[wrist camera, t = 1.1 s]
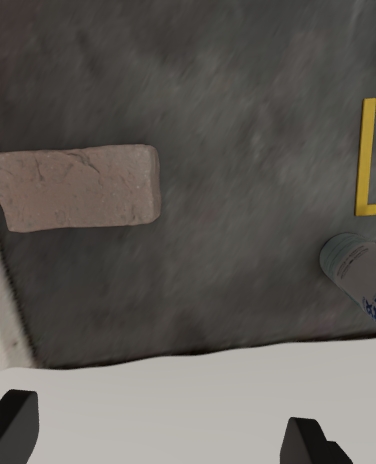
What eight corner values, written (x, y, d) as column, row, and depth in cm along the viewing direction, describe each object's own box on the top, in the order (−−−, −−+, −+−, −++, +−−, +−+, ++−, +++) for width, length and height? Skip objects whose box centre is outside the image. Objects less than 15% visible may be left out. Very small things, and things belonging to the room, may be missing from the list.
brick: (157, 143, 32) (150, 141, 27) (163, 216, 34) (158, 226, 30) (13, 153, 33) (-16, 153, 28) (29, 224, 35) (4, 234, 30)
